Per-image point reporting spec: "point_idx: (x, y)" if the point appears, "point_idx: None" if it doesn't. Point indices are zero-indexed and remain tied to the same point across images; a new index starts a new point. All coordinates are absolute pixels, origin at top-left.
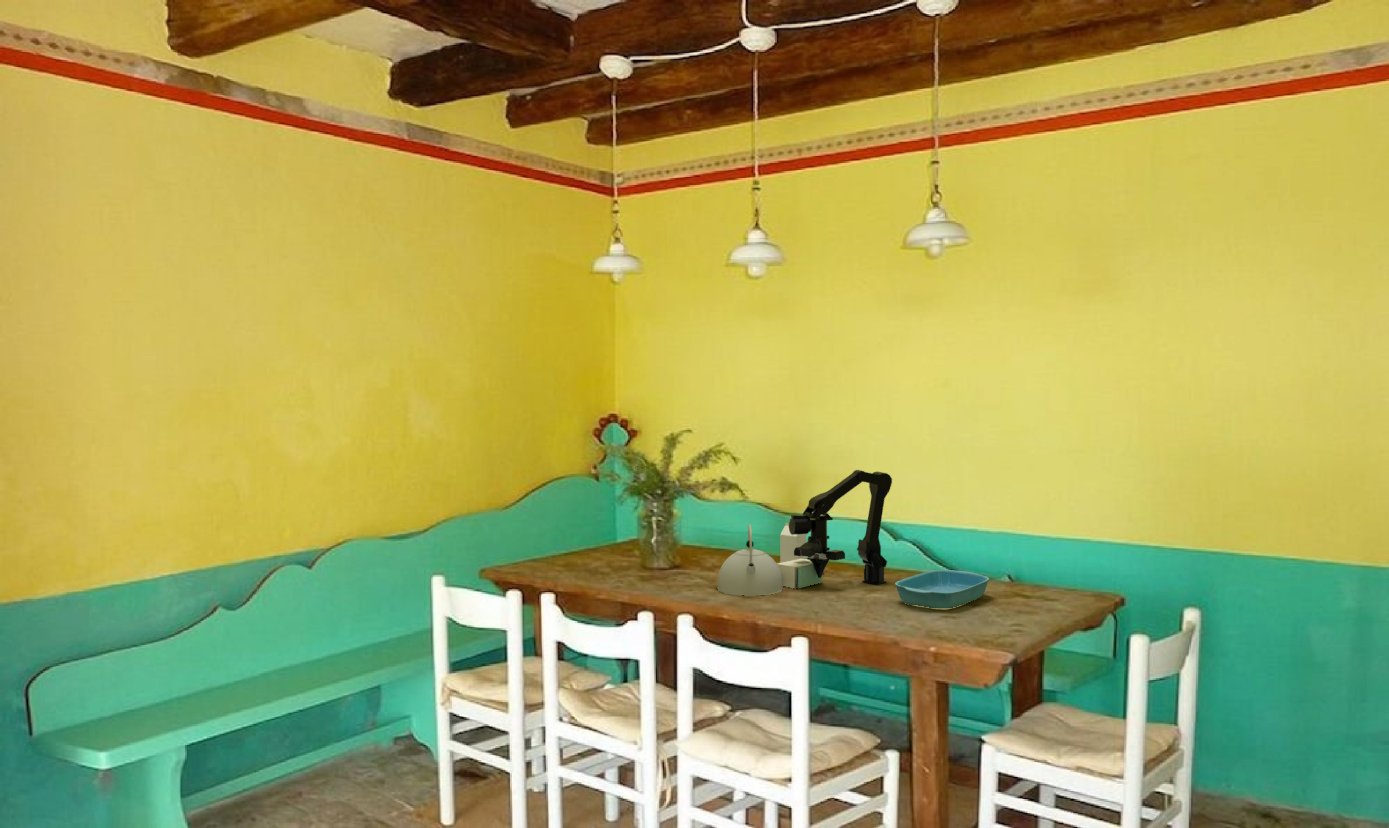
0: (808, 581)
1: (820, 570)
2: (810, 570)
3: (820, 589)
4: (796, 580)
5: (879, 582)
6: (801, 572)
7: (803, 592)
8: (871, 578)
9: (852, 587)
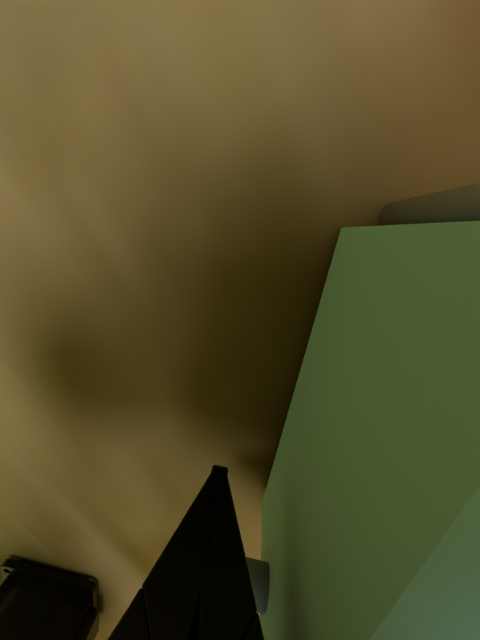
0: (310, 380)
1: (157, 568)
2: (326, 544)
3: (177, 332)
4: (448, 197)
5: (3, 583)
6: (454, 273)
7: (244, 100)
8: (16, 608)
9: (55, 478)
